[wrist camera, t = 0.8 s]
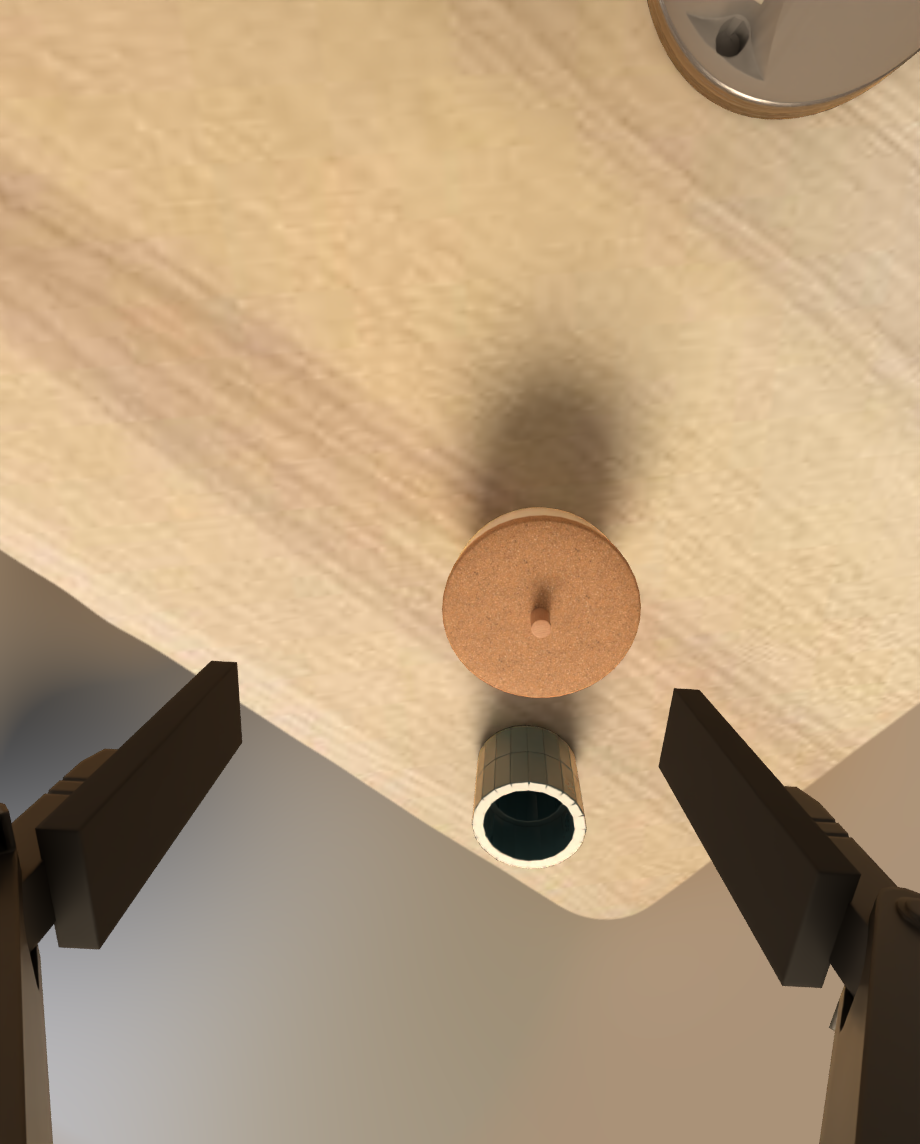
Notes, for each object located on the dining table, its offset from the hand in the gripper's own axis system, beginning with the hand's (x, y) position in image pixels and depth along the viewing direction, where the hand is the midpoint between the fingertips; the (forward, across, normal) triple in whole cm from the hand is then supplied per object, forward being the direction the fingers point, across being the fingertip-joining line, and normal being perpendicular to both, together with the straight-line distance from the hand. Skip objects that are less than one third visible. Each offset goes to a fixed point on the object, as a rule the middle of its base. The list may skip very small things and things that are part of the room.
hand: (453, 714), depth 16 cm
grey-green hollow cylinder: (+22, +6, -17) cm, 28 cm away
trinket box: (+20, +5, -1) cm, 21 cm away
